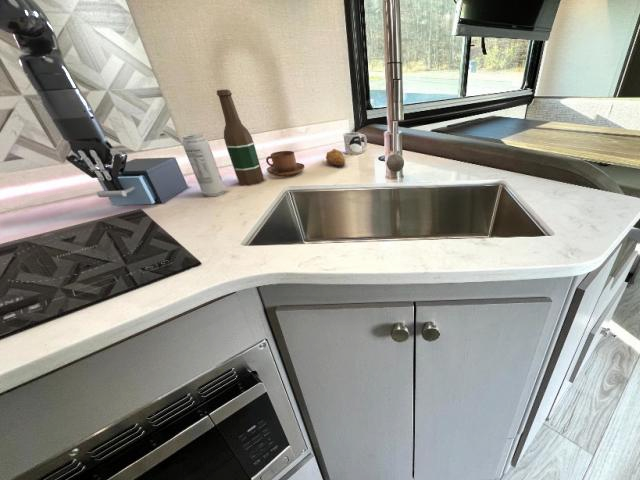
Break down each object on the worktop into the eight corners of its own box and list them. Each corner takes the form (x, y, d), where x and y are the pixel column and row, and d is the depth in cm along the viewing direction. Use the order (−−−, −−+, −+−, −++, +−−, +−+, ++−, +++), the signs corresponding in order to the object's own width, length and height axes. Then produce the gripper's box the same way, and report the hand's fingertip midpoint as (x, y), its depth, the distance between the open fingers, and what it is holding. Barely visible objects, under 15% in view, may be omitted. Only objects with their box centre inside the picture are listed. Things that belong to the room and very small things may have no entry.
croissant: (321, 161, 116) (318, 146, 113) (338, 158, 118) (336, 144, 115) (333, 169, 106) (331, 153, 103) (352, 166, 109) (350, 151, 106)
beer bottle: (241, 179, 101) (211, 89, 86) (266, 177, 102) (241, 88, 87) (235, 186, 95) (202, 91, 80) (262, 184, 96) (234, 90, 81)
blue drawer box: (162, 203, 85) (145, 170, 80) (119, 205, 85) (100, 172, 80) (188, 187, 96) (175, 157, 90) (150, 188, 96) (135, 158, 90)
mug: (351, 155, 122) (349, 136, 118) (342, 152, 126) (340, 134, 122) (372, 150, 127) (370, 132, 123) (362, 148, 131) (361, 130, 127)
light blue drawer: (140, 211, 78) (125, 183, 74) (99, 212, 78) (81, 185, 74) (178, 188, 92) (167, 164, 88) (143, 189, 92) (130, 165, 88)
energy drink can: (231, 191, 91) (210, 133, 82) (214, 198, 87) (190, 138, 78) (215, 189, 93) (194, 132, 84) (198, 195, 89) (173, 137, 80)
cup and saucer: (265, 180, 99) (260, 159, 95) (270, 170, 108) (265, 150, 105) (304, 177, 101) (300, 156, 97) (306, 167, 110) (302, 148, 106)
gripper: (25, 118, 65) (80, 201, 75) (89, 115, 65) (135, 198, 75) (56, 113, 71) (103, 190, 81) (115, 111, 71) (154, 188, 81)
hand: (118, 194), depth 78 cm, fingers closed
